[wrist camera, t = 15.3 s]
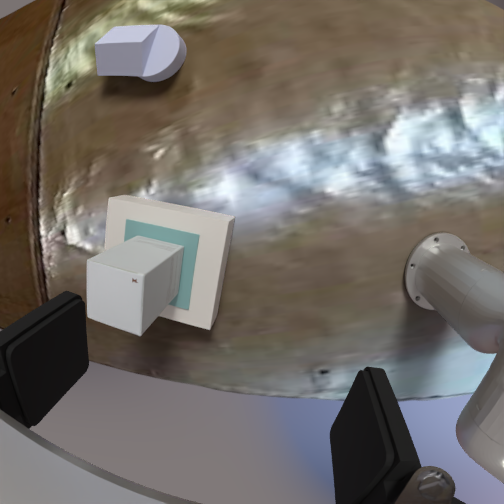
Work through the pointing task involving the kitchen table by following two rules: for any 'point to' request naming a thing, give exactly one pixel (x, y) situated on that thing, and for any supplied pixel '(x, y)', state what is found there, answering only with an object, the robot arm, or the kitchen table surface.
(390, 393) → the robot arm
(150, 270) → the supplement box
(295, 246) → the kitchen table surface
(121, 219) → the stand
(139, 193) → the kitchen table surface
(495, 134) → the kitchen table surface
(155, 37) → the wedge on round base
